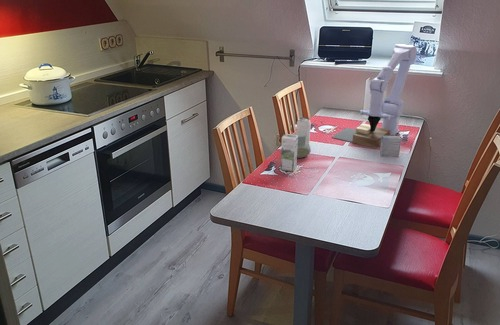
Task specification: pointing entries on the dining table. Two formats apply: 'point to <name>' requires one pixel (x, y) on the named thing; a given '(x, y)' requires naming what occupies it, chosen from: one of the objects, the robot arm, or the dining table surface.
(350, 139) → the mat
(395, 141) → the medicine box
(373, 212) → the dining table surface
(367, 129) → the tile
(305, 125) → the can
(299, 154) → the air freshener
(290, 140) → the syrup box
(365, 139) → the brown shallow box
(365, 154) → the dining table surface
